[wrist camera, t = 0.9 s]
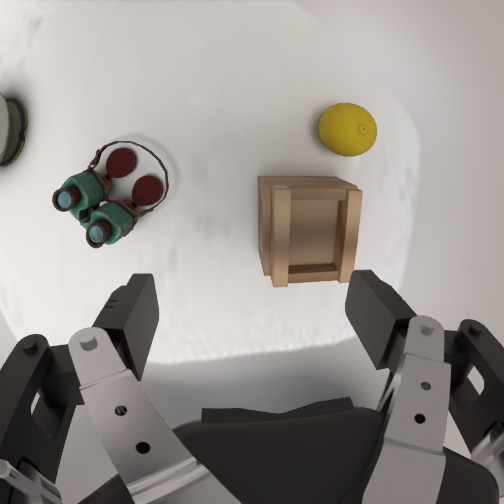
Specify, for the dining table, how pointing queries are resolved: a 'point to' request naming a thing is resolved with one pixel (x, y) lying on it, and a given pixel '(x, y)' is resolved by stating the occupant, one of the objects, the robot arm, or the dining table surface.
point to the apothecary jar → (11, 129)
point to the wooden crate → (307, 228)
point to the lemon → (347, 129)
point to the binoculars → (97, 190)
